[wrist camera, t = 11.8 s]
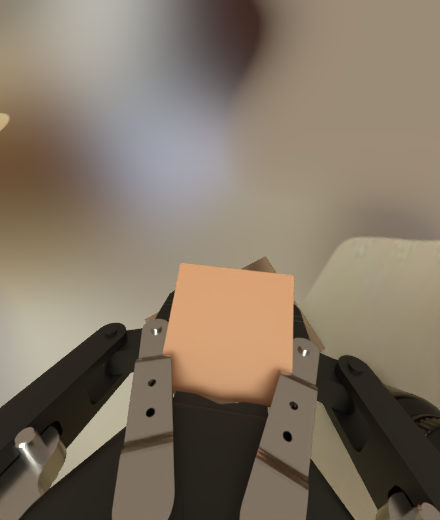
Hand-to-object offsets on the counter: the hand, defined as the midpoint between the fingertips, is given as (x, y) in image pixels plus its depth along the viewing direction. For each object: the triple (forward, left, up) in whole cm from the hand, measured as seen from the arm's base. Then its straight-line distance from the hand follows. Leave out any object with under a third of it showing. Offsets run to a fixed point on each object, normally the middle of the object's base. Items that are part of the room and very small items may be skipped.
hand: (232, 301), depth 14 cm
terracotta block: (+1, +2, -4) cm, 5 cm away
